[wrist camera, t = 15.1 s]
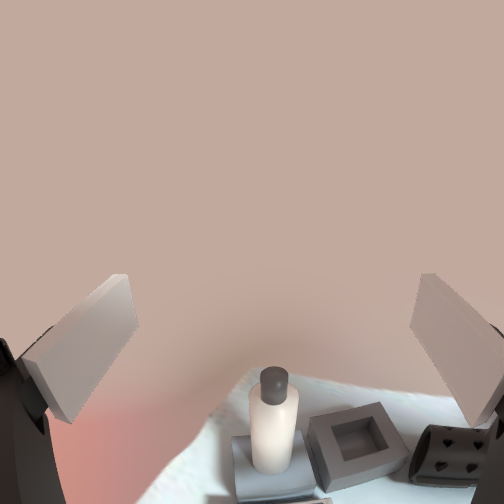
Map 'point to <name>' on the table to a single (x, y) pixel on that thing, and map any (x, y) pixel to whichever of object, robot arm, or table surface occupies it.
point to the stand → (272, 487)
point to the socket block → (355, 446)
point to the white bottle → (272, 421)
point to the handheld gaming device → (315, 501)
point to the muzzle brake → (449, 457)
